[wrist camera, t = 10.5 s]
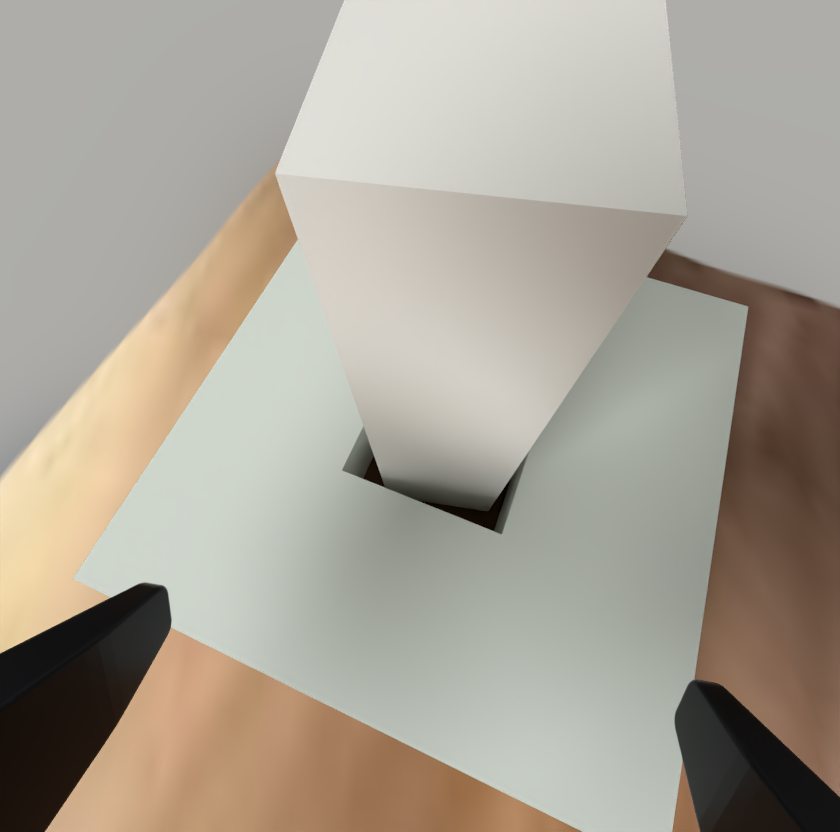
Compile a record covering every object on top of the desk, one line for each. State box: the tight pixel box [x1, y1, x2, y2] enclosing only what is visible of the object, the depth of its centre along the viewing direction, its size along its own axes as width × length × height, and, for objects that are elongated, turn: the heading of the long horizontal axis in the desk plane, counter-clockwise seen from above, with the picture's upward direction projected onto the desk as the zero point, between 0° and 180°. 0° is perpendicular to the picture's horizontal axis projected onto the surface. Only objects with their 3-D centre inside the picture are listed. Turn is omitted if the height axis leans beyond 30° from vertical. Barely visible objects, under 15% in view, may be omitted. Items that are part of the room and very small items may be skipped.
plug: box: [275, 0, 688, 511], centre depth 11 cm, size 4×4×13 cm
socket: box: [73, 240, 748, 832], centre depth 15 cm, size 16×16×3 cm
